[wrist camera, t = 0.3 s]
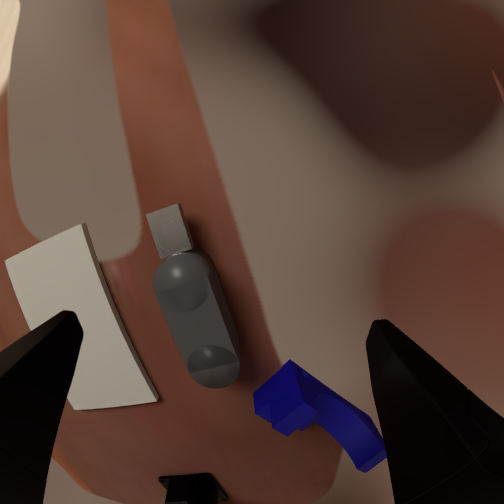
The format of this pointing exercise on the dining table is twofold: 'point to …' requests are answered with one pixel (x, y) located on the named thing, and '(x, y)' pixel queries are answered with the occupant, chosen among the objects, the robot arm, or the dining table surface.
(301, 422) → the cable clip
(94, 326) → the mat
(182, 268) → the connector
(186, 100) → the dining table surface
